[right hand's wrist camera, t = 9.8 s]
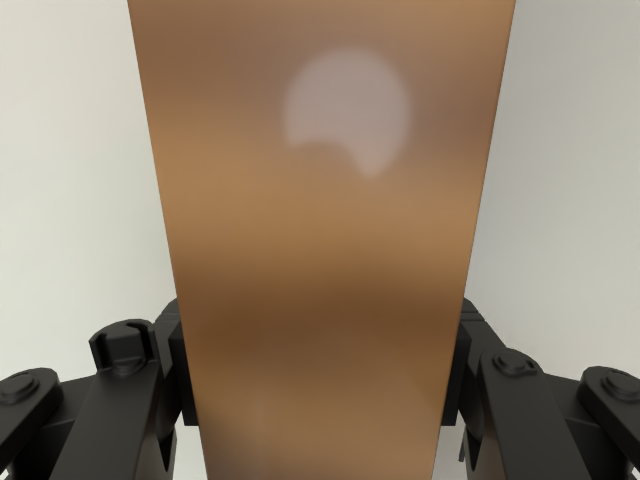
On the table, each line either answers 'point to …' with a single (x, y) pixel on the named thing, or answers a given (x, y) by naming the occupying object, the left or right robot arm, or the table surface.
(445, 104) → the post
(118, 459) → the right robot arm
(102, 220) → the table surface
